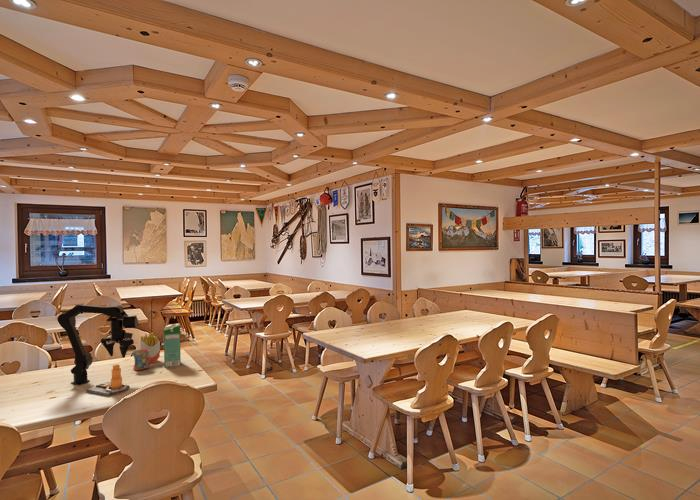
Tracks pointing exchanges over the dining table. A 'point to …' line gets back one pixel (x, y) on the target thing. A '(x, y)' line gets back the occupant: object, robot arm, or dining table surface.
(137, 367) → the mug
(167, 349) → the milk carton
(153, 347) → the french fries container
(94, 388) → the plate
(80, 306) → the robot arm
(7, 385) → the dining table surface
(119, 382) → the wire nut
